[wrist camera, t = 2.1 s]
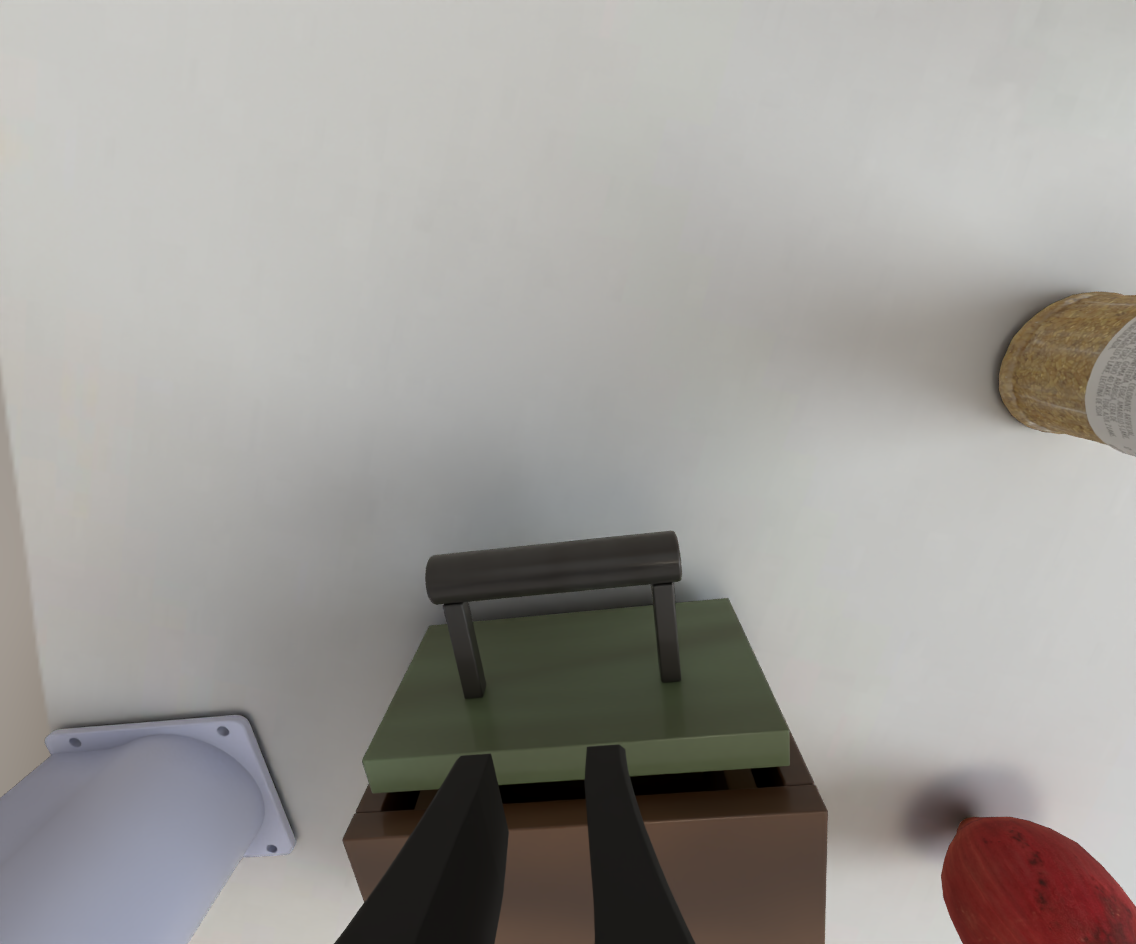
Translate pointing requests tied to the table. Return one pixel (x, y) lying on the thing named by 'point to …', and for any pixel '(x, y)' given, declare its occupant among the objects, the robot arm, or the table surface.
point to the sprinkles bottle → (1076, 370)
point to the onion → (1030, 887)
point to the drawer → (578, 680)
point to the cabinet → (682, 845)
